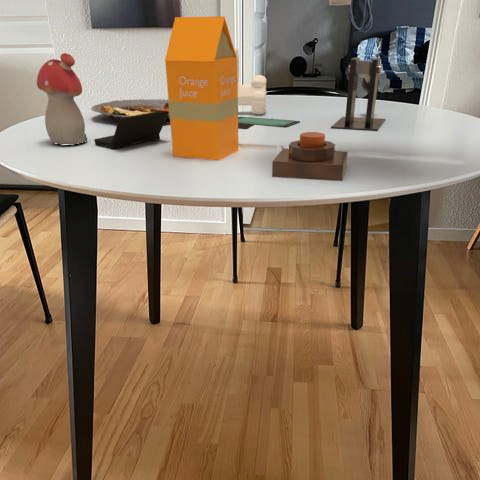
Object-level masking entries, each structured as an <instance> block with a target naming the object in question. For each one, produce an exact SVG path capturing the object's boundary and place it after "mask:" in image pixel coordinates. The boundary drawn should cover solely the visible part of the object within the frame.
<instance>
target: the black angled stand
mask: <svg viewBox="0 0 480 480" xmlns="http://www.w3.org/2000/svg"><path fill="white" fill-rule="evenodd" d="M167 115H168V111H167V110H165V111H159V112H153V113H147V114H141V115H135V116H129V117H119V119H118V122H117V124H116V127H115V131H114V134H112V135H109V136H103V137H98V138H94V144H98V145H97V146H100V145H102V146H101V147H104V146H107V147H106V148H108V147H110V149H113V148H116V149H119V148H118V147H120V148H124V147H123V146H125V147H129V146H128V145H130V146H132V144H133V145H135V144H141V142H144V143H147V141H148V142H152V141H153V142H154V141H157V140H160V139H161V136H160V135H161V131H162V129H163V127H164V124H165V122H166V120H167V119H168V118H167Z"/></svg>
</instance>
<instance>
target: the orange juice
mask: <svg viewBox="0 0 480 480" xmlns="http://www.w3.org/2000/svg"><path fill="white" fill-rule="evenodd" d="M234 49H235V47H234V44H233V41H232V37H231V34H230V31H229V27H228V24H227V20H226V16H174V21H173V25H172V28H171V34H170V37H169V41H168V45H167V50H166V54H165V58H164V62H165V74H166V86H167V100H169V101H168V104H169V116H170V118H169V123H170V136H171V143H172V144H171V146H172V147H171V148H172V156H173V157H179V158H188V159H202V160H211V161H221V160H222V159H225V158H226V157H228V156H231V155H234V153H236V152H238V151H239V128H238V117H239V105H238V87H237V57H236V54H235V51H234Z"/></svg>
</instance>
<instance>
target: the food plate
mask: <svg viewBox="0 0 480 480" xmlns="http://www.w3.org/2000/svg"><path fill="white" fill-rule="evenodd" d="M168 101H169V100H168V99H164V98H163V99H161V98H160V99H156V98H155V99H154V98H152V99H151V98H149V99H146V98H145V99H144V98H142V99H141V98H139V99H122V100H121V99H119V100H118V99H117V100H111V101H105V102H101V103H98V104H95V105H93V106H91V107H90V110H91V111H92V112H95V113H99V114H102V115H104V116H105V117H113V118H115V119H116V120H117V119H118V118H123V117H129V116H135V115H141V114H147V113H153V112H159V111H165V110H167V111H168V115H167V118H166V119H170V116H169V104H168Z"/></svg>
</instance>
